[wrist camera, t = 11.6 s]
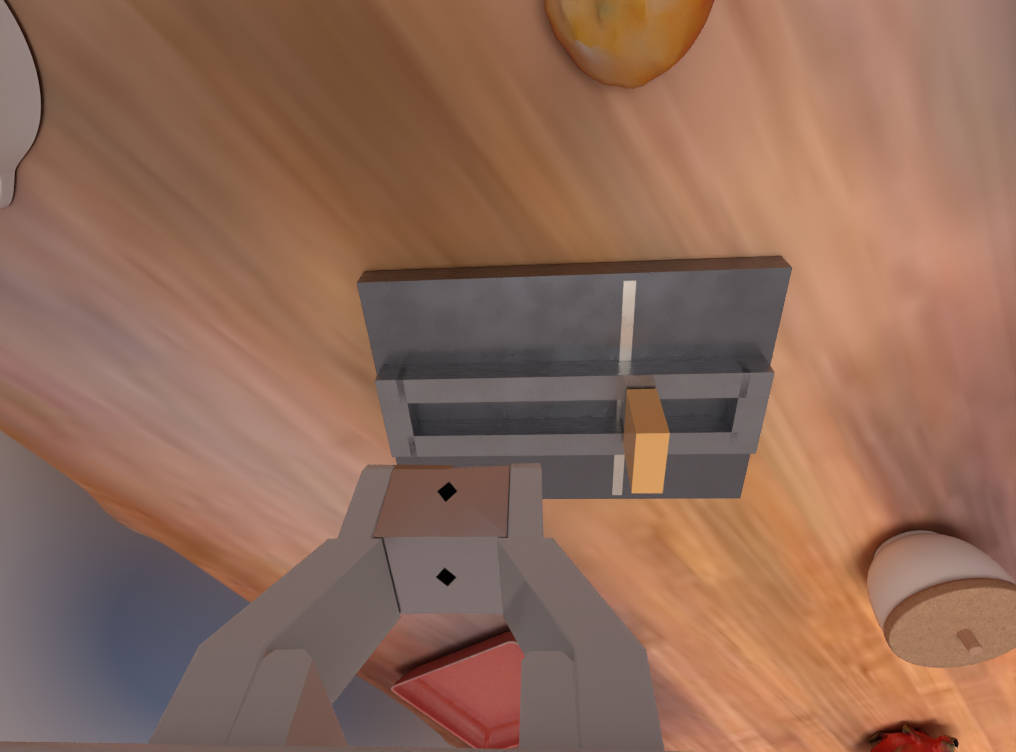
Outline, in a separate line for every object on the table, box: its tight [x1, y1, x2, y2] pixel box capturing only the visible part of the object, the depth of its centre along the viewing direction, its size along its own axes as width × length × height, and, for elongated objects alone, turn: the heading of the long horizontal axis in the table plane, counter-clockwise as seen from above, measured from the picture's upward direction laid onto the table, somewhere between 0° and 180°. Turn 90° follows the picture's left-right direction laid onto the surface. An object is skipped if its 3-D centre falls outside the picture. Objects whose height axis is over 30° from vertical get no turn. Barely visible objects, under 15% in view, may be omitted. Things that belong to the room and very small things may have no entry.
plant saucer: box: [391, 631, 525, 749], centre depth 65 cm, size 18×18×3 cm
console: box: [357, 256, 792, 499], centre depth 41 cm, size 28×20×4 cm
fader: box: [621, 389, 670, 493], centre depth 38 cm, size 2×5×7 cm, turn 3°
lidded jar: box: [867, 530, 1016, 668], centre depth 47 cm, size 11×11×9 cm
